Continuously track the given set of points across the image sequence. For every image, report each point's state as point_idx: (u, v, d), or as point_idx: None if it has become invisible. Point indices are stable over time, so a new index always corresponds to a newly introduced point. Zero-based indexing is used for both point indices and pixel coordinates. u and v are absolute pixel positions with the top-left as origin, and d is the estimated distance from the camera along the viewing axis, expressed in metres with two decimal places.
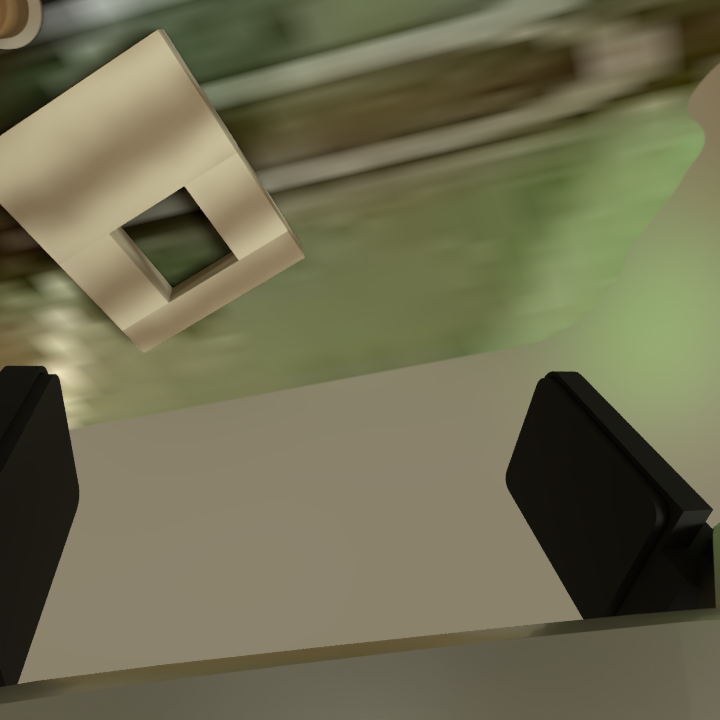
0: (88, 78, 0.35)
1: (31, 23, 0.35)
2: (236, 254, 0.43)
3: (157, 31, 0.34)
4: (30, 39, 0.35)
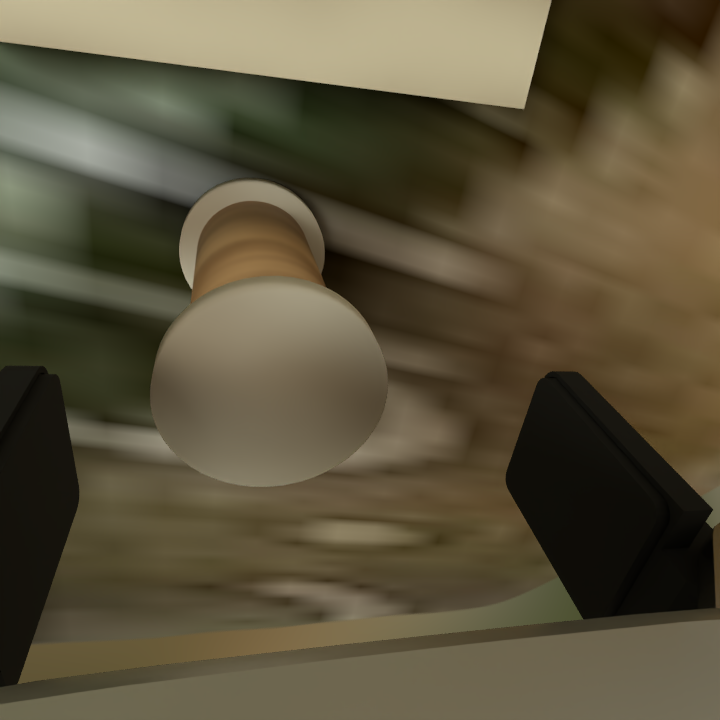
0: (169, 59, 0.14)
1: (223, 200, 0.18)
2: None
3: None
4: (245, 183, 0.18)
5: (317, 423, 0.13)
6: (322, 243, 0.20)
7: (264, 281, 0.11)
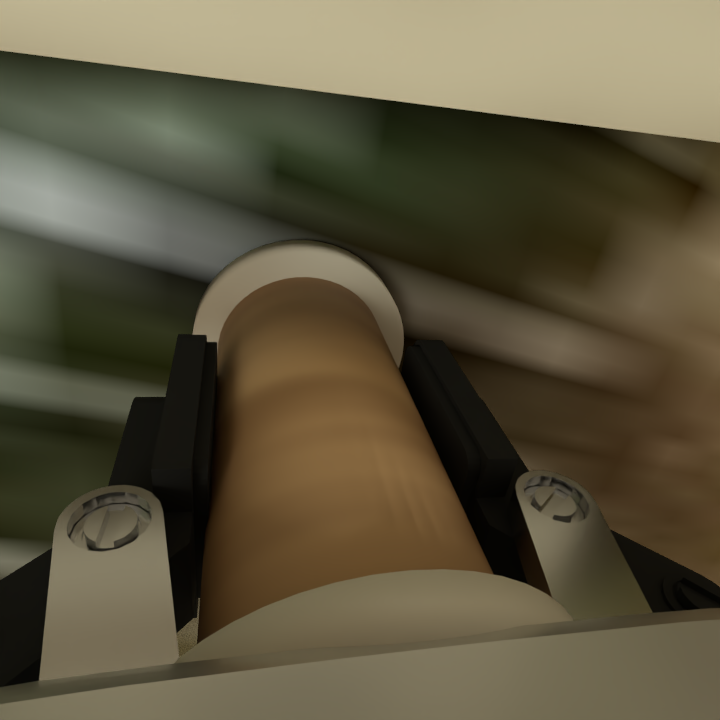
0: (176, 65, 0.08)
1: (258, 277, 0.12)
2: None
3: None
4: (292, 252, 0.12)
5: None
6: (401, 333, 0.14)
7: (384, 603, 0.05)
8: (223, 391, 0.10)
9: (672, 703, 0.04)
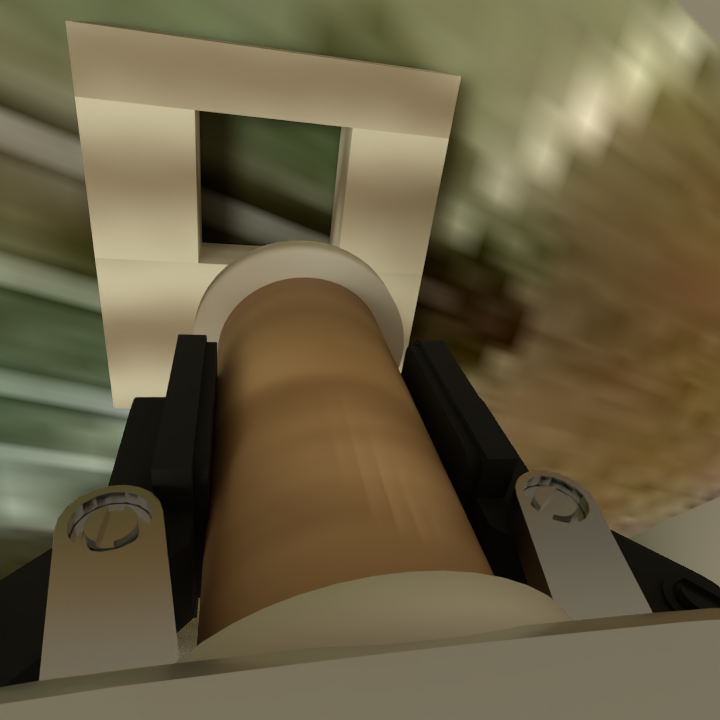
0: None
1: (259, 278, 0.12)
2: (191, 122, 0.23)
3: (115, 407, 0.29)
4: (292, 252, 0.12)
5: None
6: (401, 333, 0.14)
7: (385, 604, 0.05)
8: (223, 391, 0.10)
9: (672, 703, 0.04)
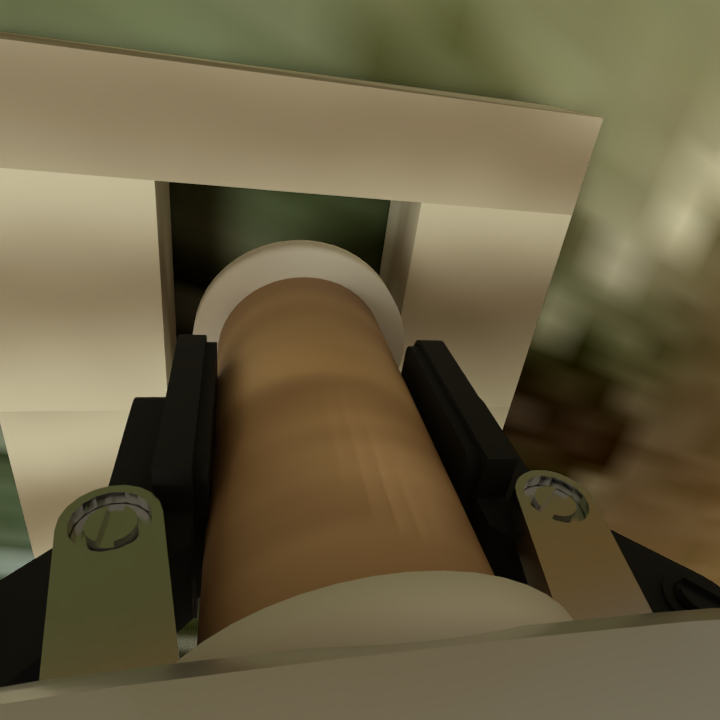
0: None
1: (259, 277, 0.12)
2: (150, 201, 0.13)
3: None
4: (292, 252, 0.12)
5: None
6: (401, 333, 0.14)
7: (385, 604, 0.05)
8: (223, 391, 0.10)
9: (672, 703, 0.04)
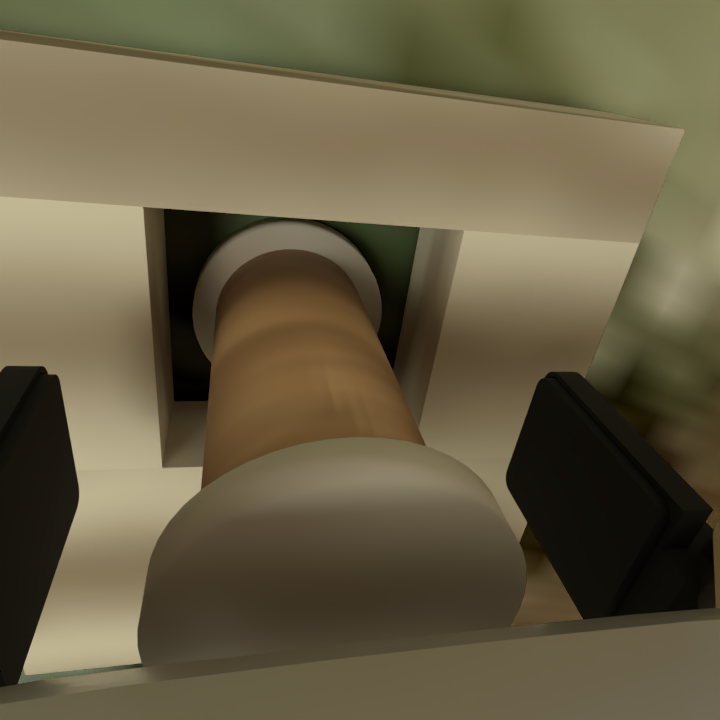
0: None
1: (251, 249, 0.14)
2: (137, 231, 0.11)
3: (27, 673, 0.17)
4: (281, 226, 0.14)
5: None
6: (379, 301, 0.15)
7: (337, 454, 0.06)
8: (220, 341, 0.12)
9: (672, 703, 0.04)
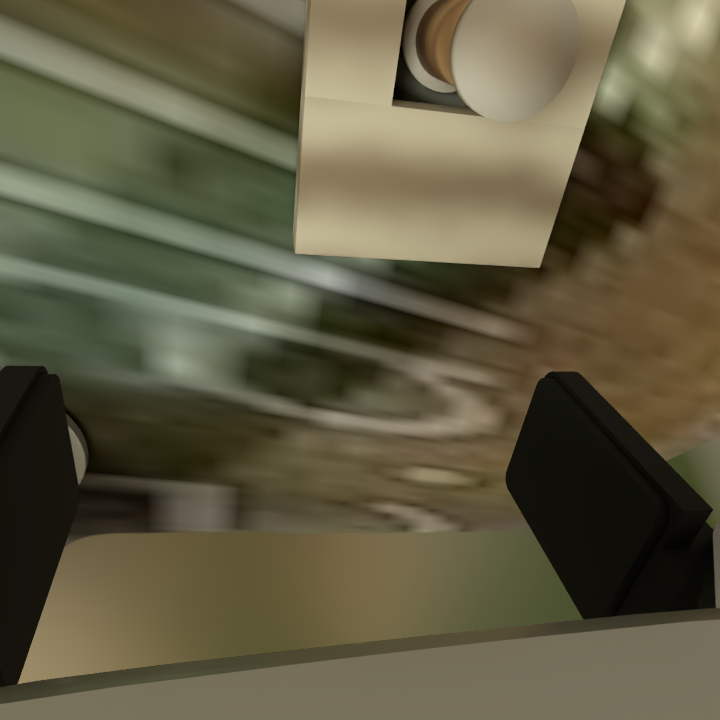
0: (384, 257, 0.33)
1: None
2: None
3: (296, 252, 0.32)
4: None
5: (535, 75, 0.22)
6: None
7: None
8: (437, 17, 0.26)
9: (673, 703, 0.04)
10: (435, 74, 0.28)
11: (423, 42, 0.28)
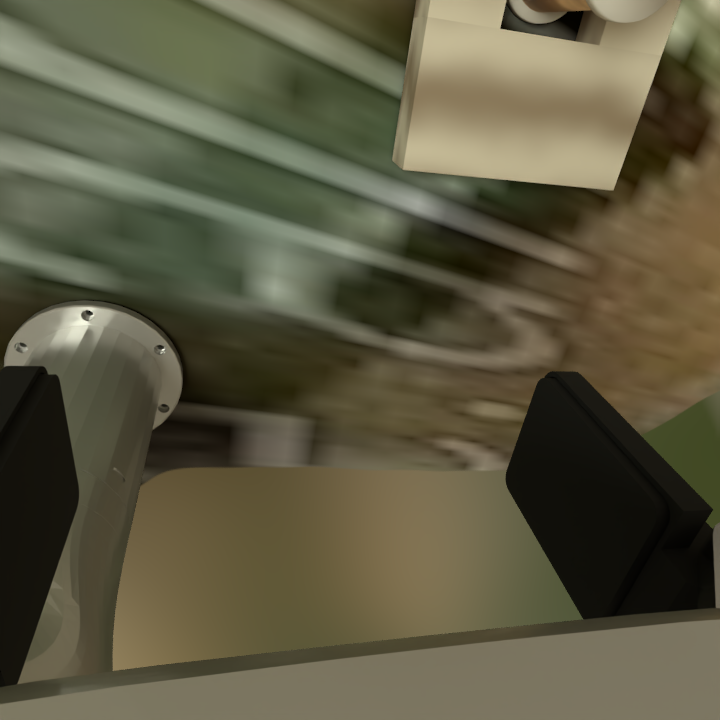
0: (480, 175, 0.37)
1: None
2: None
3: (404, 168, 0.36)
4: None
5: None
6: None
7: None
8: None
9: (672, 703, 0.04)
10: (540, 0, 0.32)
11: None
